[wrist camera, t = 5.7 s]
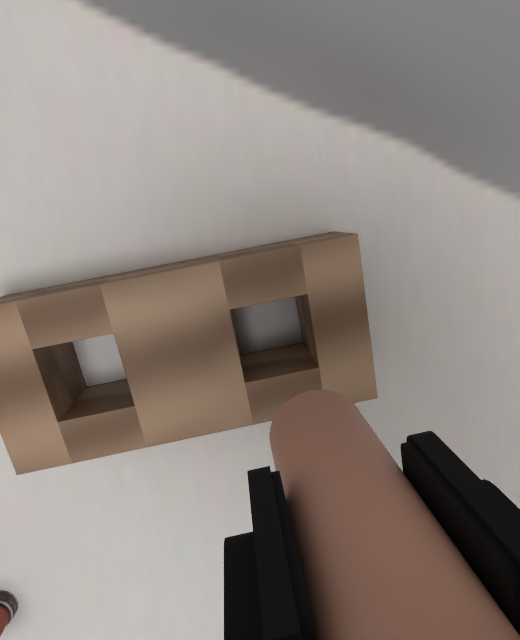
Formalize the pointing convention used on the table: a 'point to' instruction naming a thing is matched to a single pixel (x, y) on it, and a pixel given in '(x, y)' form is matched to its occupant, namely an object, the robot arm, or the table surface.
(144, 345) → the hole block
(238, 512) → the table surface
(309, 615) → the robot arm
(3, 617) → the lighter
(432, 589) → the peg
